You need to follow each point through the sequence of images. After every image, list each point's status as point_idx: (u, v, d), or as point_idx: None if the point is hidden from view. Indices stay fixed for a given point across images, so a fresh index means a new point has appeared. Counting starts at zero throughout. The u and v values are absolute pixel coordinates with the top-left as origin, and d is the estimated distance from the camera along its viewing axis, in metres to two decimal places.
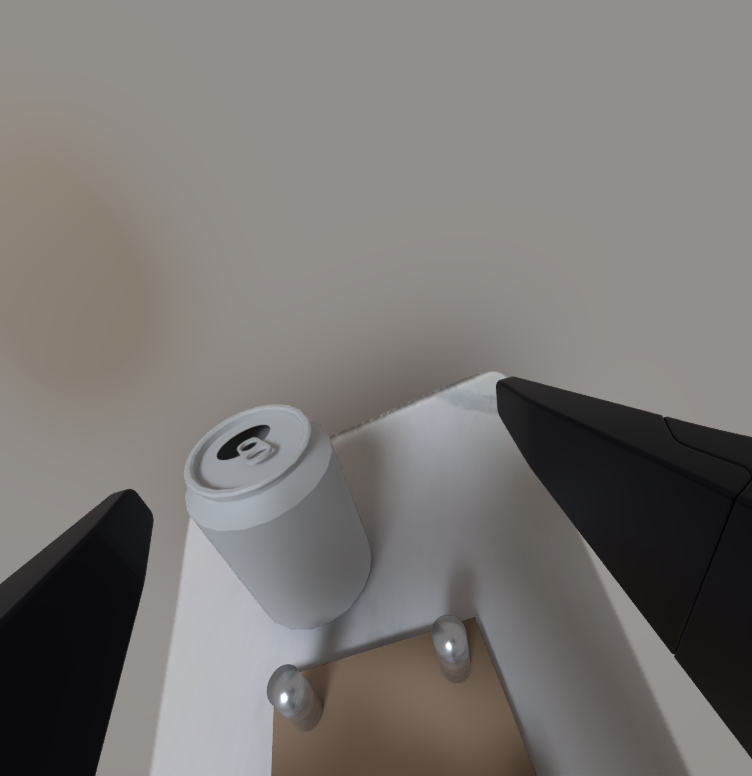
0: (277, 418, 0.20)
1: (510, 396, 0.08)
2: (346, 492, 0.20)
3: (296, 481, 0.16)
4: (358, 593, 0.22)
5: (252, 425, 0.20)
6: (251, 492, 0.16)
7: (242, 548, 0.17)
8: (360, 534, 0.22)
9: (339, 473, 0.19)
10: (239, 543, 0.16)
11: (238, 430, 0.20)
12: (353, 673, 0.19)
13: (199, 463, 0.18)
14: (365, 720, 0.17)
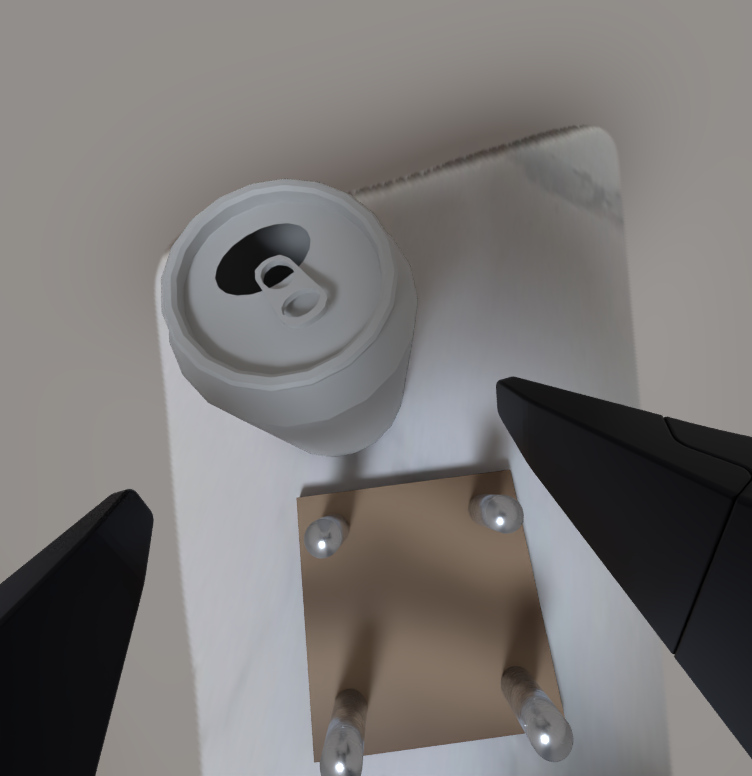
0: (320, 214, 0.11)
1: (510, 396, 0.08)
2: None
3: (370, 363, 0.10)
4: (387, 428, 0.19)
5: (272, 221, 0.11)
6: (300, 383, 0.09)
7: (276, 431, 0.11)
8: None
9: None
10: (274, 429, 0.11)
11: (246, 226, 0.11)
12: (379, 503, 0.19)
13: (185, 290, 0.10)
14: (390, 544, 0.18)
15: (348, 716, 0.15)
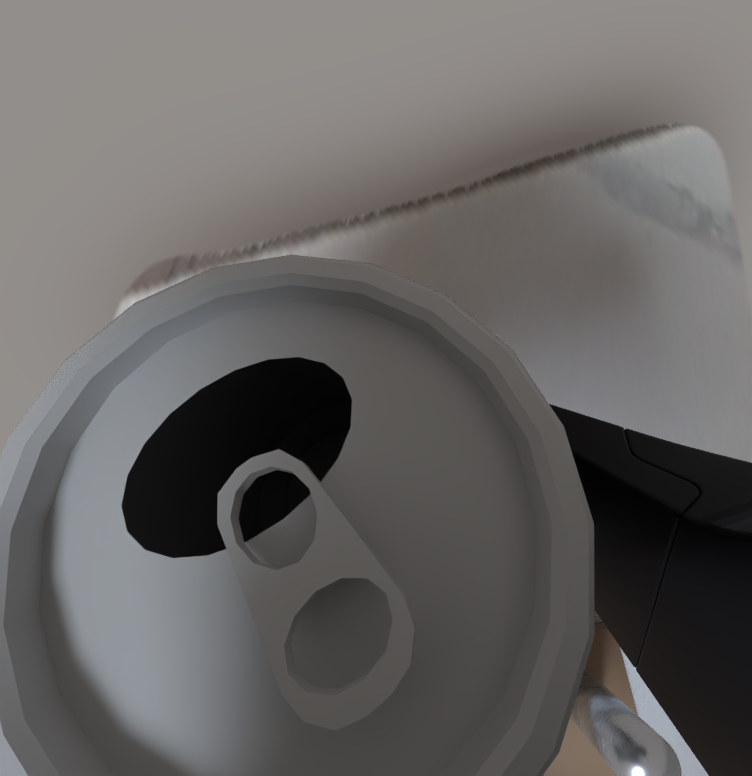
0: (372, 336, 0.05)
1: None
2: None
3: None
4: None
5: (262, 352, 0.05)
6: None
7: None
8: None
9: None
10: None
11: (202, 365, 0.05)
12: None
13: (47, 540, 0.04)
14: None
15: None
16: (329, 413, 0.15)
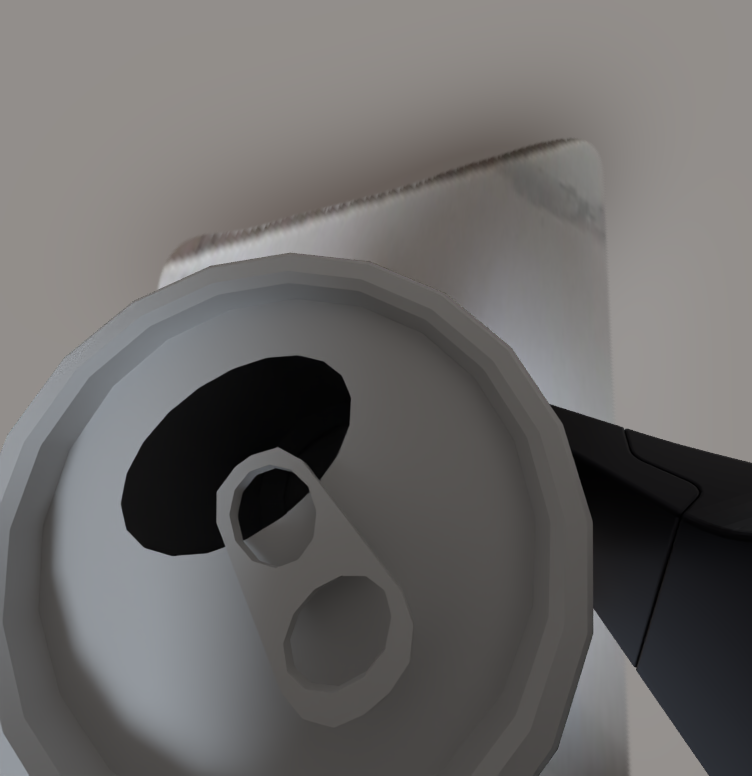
0: (372, 334, 0.05)
1: None
2: None
3: None
4: None
5: (262, 350, 0.05)
6: None
7: None
8: None
9: None
10: None
11: (201, 363, 0.05)
12: None
13: (44, 537, 0.04)
14: None
15: None
16: (329, 411, 0.15)
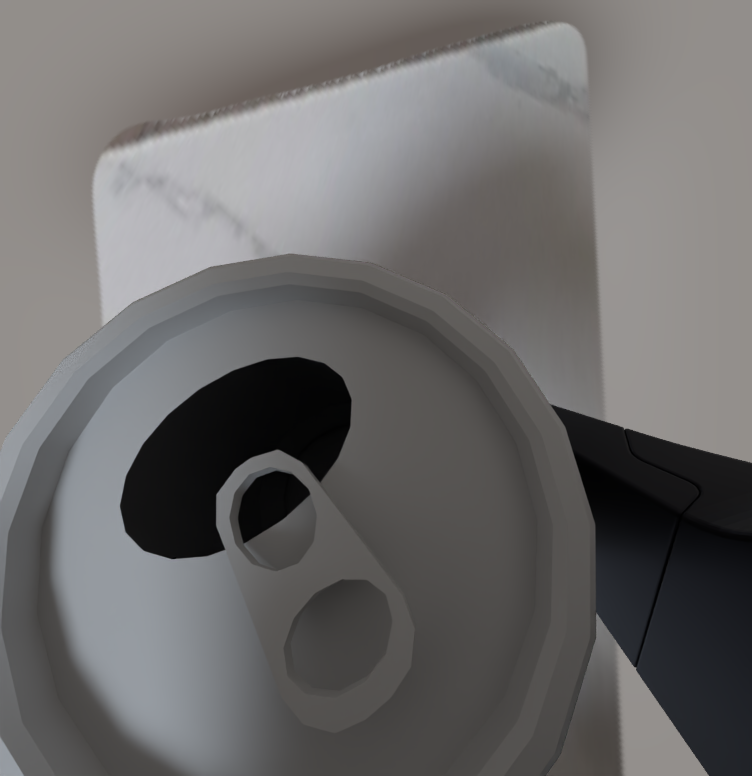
0: (372, 336, 0.05)
1: None
2: None
3: None
4: None
5: (262, 352, 0.05)
6: None
7: None
8: None
9: None
10: None
11: (200, 364, 0.05)
12: None
13: (43, 540, 0.04)
14: None
15: None
16: (329, 412, 0.15)
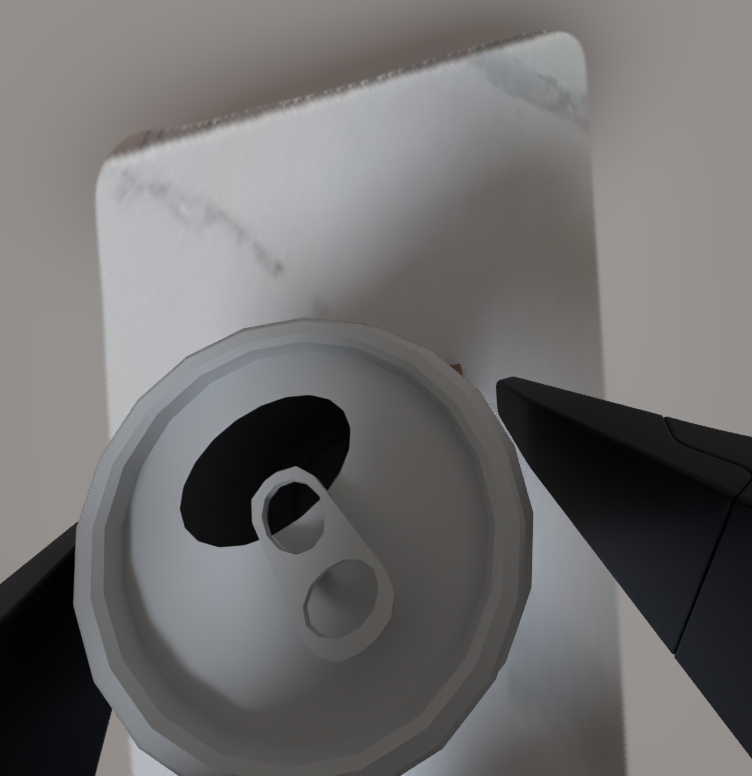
0: (366, 378, 0.06)
1: (510, 396, 0.08)
2: None
3: None
4: None
5: (283, 392, 0.06)
6: (344, 768, 0.05)
7: None
8: None
9: None
10: None
11: (236, 401, 0.06)
12: None
13: (125, 534, 0.06)
14: None
15: None
16: (334, 423, 0.17)
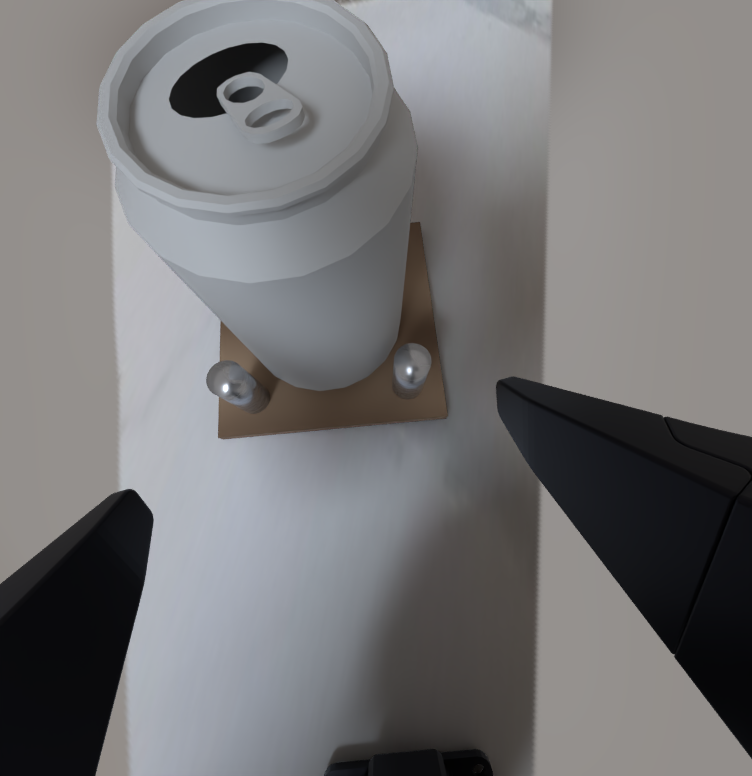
0: (301, 34, 0.09)
1: (510, 396, 0.08)
2: (408, 235, 0.12)
3: (355, 205, 0.08)
4: (381, 362, 0.17)
5: (243, 40, 0.09)
6: (266, 212, 0.07)
7: (244, 307, 0.10)
8: (402, 296, 0.15)
9: (412, 199, 0.11)
10: (239, 300, 0.09)
11: (211, 45, 0.09)
12: None
13: (131, 111, 0.08)
14: None
15: None
16: None
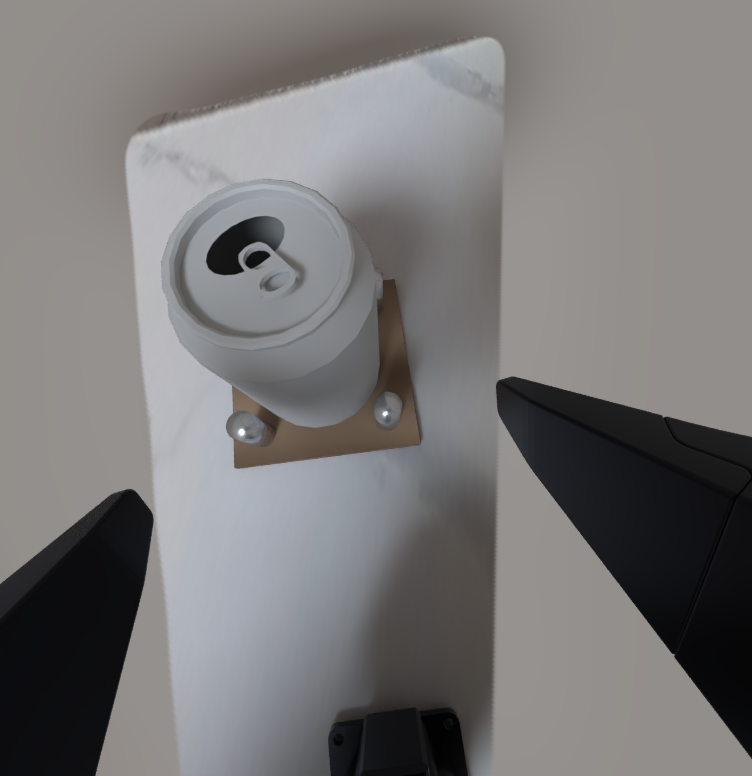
0: (293, 208, 0.13)
1: (510, 396, 0.08)
2: (377, 320, 0.16)
3: (333, 330, 0.12)
4: (365, 402, 0.21)
5: (254, 214, 0.13)
6: (275, 345, 0.11)
7: (259, 391, 0.14)
8: (377, 354, 0.19)
9: (376, 303, 0.15)
10: (256, 388, 0.13)
11: (231, 218, 0.13)
12: None
13: (181, 271, 0.12)
14: None
15: None
16: None
